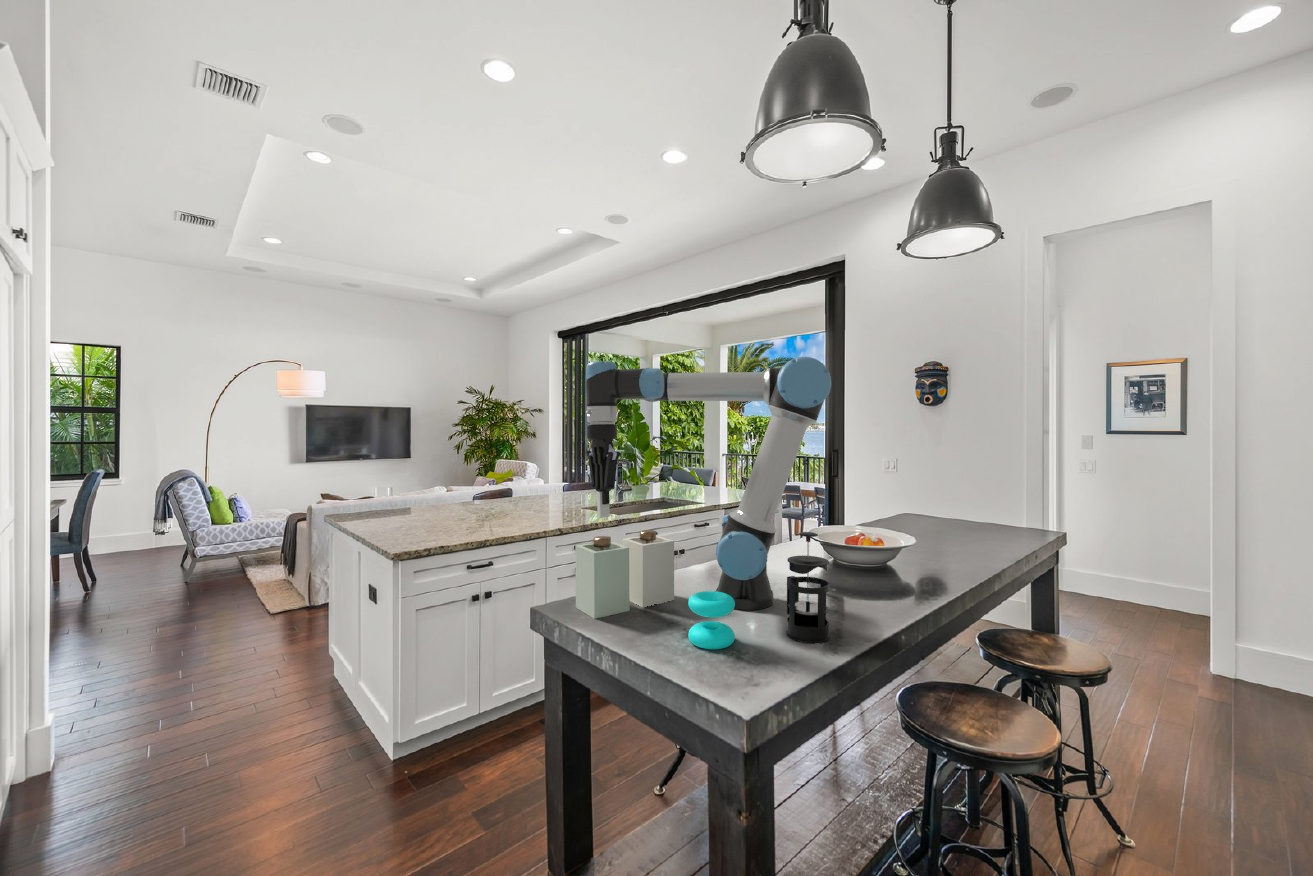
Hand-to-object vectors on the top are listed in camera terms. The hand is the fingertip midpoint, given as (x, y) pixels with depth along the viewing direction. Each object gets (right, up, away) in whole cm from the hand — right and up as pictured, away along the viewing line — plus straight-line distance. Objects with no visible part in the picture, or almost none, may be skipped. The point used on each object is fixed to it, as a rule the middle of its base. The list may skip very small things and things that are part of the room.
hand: (603, 516), depth 140 cm
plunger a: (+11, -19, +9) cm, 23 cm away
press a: (+11, -23, +9) cm, 27 cm away
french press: (+47, -24, -16) cm, 55 cm away
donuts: (+25, -24, -20) cm, 41 cm away
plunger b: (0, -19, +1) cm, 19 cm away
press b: (0, -24, +1) cm, 24 cm away
